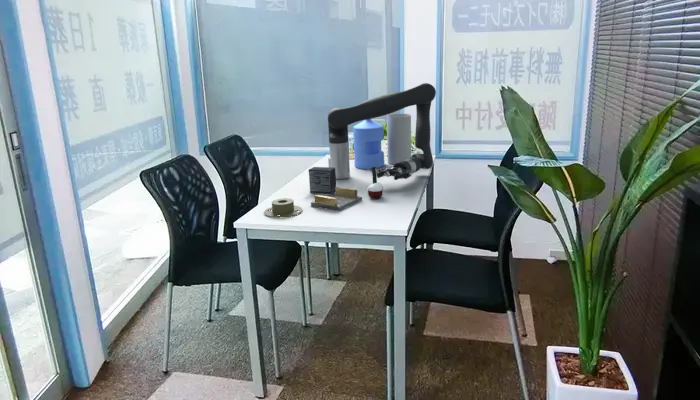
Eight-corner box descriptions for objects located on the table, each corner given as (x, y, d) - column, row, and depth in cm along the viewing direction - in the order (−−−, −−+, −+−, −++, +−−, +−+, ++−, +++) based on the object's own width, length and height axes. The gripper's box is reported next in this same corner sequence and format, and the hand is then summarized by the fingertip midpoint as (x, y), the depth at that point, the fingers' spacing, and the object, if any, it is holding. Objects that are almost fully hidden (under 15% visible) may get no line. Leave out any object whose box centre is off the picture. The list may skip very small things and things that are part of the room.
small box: (337, 190, 238) (336, 167, 235) (332, 194, 232) (330, 170, 229) (315, 188, 241) (313, 166, 238) (309, 192, 235) (308, 169, 232)
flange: (306, 196, 214) (271, 195, 217) (294, 207, 200) (257, 206, 203) (307, 207, 215) (272, 206, 219) (295, 219, 201) (258, 218, 205)
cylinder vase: (384, 164, 282) (383, 116, 275) (391, 159, 293) (390, 113, 286) (407, 165, 277) (407, 117, 270) (414, 160, 288) (413, 113, 281)
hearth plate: (310, 206, 216) (310, 195, 214) (334, 196, 228) (333, 185, 227) (339, 210, 208) (338, 199, 207) (361, 200, 220) (361, 189, 219)
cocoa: (379, 202, 219) (379, 173, 215) (365, 200, 221) (364, 172, 217) (386, 194, 227) (386, 167, 223) (371, 193, 229) (371, 166, 225)
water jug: (348, 167, 278) (346, 113, 270) (365, 161, 290) (363, 109, 282) (374, 170, 269) (372, 114, 261) (390, 164, 282) (388, 110, 274)
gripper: (390, 159, 244) (371, 166, 231) (418, 161, 236) (400, 169, 223) (391, 175, 246) (372, 183, 233) (418, 178, 238) (400, 187, 225)
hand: (386, 176), depth 228 cm, fingers open, 8 cm apart
